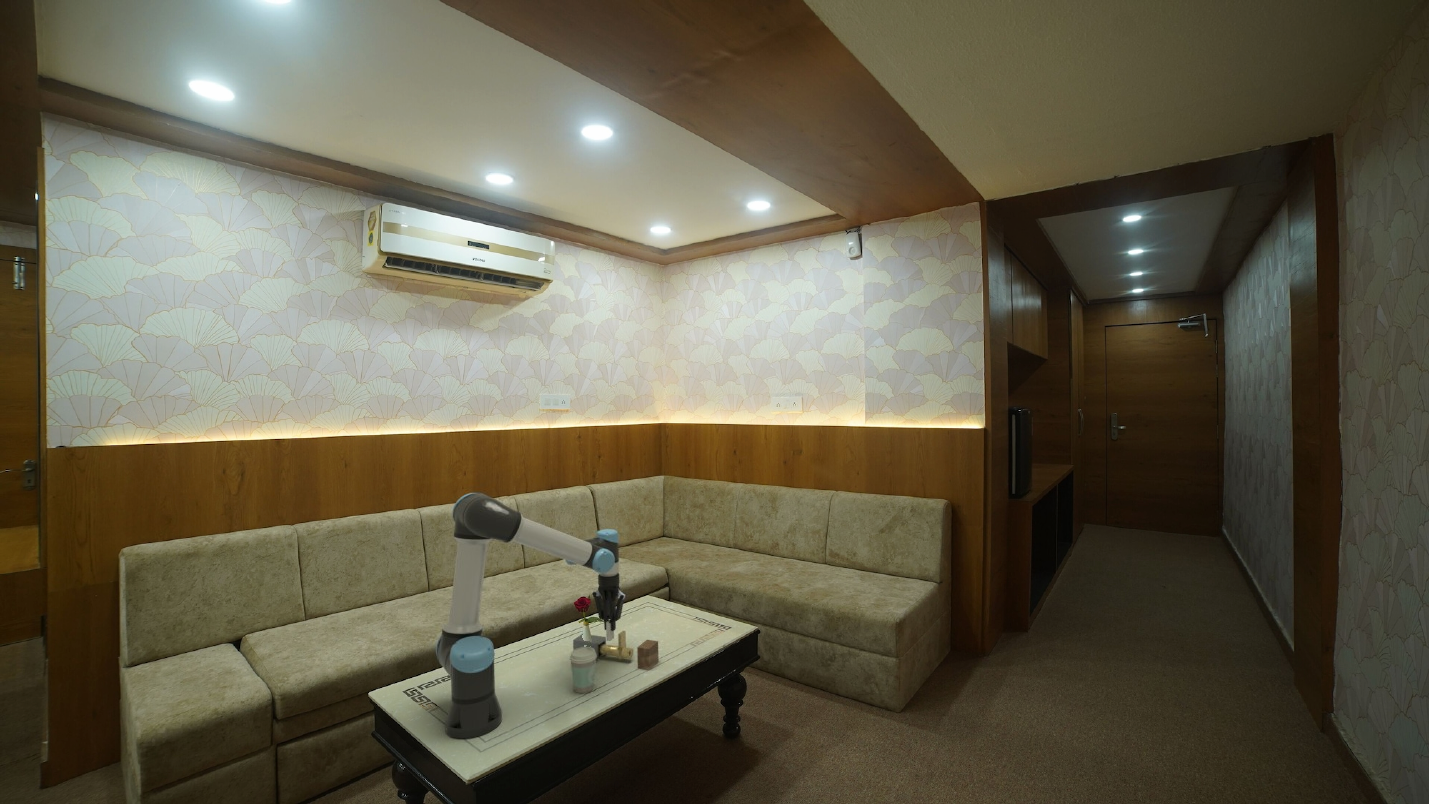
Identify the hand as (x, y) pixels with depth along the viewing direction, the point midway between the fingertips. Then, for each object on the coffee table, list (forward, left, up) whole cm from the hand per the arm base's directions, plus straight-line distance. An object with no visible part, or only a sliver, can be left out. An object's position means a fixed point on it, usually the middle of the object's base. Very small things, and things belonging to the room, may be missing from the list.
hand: (610, 639), depth 214 cm
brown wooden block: (+11, -11, -7) cm, 17 cm away
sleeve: (-6, +6, -7) cm, 11 cm away
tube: (-2, +2, -6) cm, 7 cm away
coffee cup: (-13, -18, -7) cm, 23 cm away
